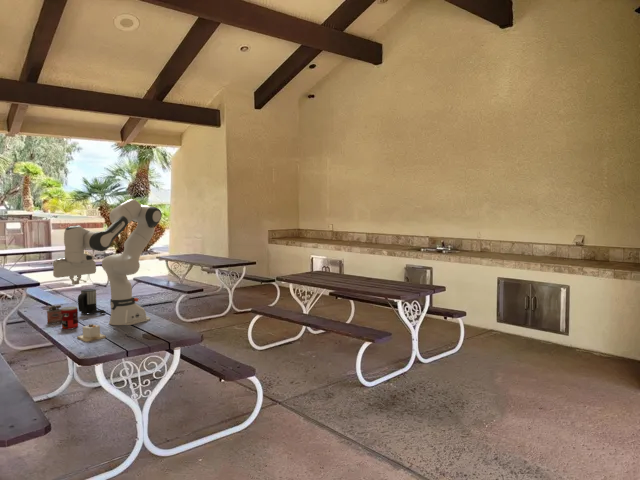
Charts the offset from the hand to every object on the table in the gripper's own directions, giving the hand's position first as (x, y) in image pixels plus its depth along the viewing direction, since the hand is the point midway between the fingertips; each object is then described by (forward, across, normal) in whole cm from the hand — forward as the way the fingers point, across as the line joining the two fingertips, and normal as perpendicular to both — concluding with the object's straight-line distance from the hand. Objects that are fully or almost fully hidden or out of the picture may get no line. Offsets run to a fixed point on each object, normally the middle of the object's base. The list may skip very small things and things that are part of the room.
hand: (75, 284), depth 243 cm
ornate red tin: (+27, +5, +40) cm, 48 cm away
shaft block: (+27, +2, -10) cm, 29 cm away
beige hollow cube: (+26, +3, -9) cm, 28 cm away
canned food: (+27, +6, +22) cm, 35 cm away
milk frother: (+28, +30, +46) cm, 61 cm away
